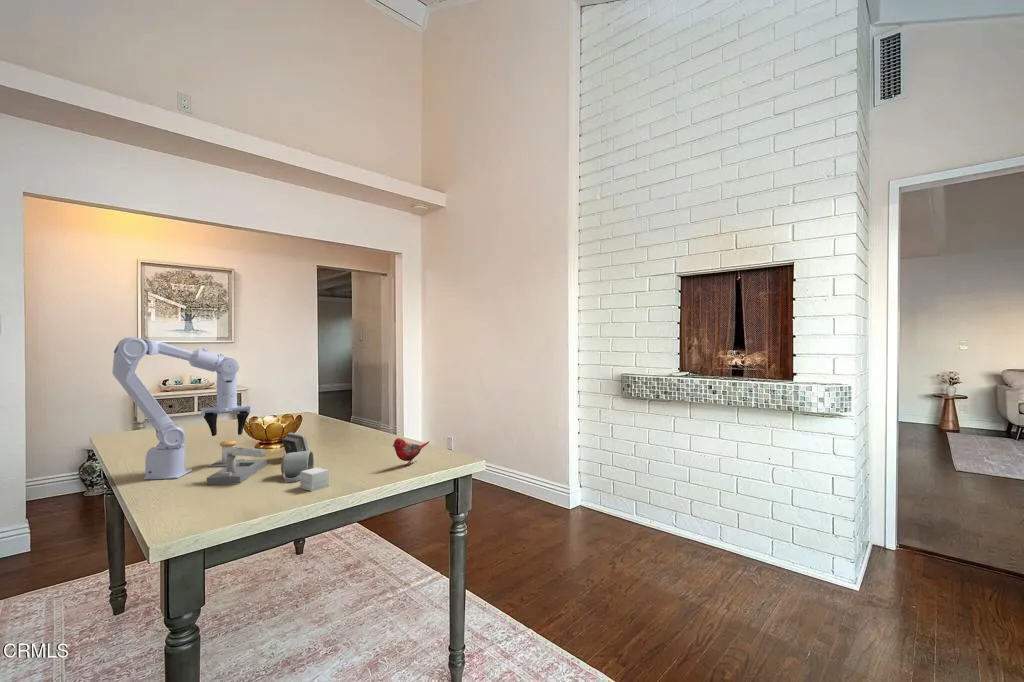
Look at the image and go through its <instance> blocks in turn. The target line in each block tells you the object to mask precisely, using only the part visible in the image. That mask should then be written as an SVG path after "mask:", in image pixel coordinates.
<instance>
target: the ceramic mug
mask: <svg viewBox="0 0 1024 682" xmlns="http://www.w3.org/2000/svg"><path fill="white" fill-rule="evenodd" d="M280 462H281V463H280V470H281V474H282V477H283V480H284V481H285V482H286V483H295V481H296V482H298V481H299V482H300V472H301V471H304V470H309V469H312V468H315V458H314V453H313V451H312V450H310V449H309V451H302V452H292V453H287V454H286V453H285V454H283V455H282V458H281V461H280Z"/></svg>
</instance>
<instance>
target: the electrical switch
mask: <svg viewBox="0 0 1024 682" xmlns="http://www.w3.org/2000/svg"><path fill="white" fill-rule="evenodd" d="M281 441H282V444H283V448H284V451H285V454H287V453H292V452H302V451H309V450H310V448H309V445H308V442H307V438H306V435H304V434H301V433H295V432H288V433H287V435H286V436H285V437H283V438H281Z"/></svg>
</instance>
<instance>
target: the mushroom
mask: <svg viewBox="0 0 1024 682" xmlns="http://www.w3.org/2000/svg"><path fill="white" fill-rule="evenodd" d="M235 445H237V440H224V441H220V442H219V446H220V447H221V460H222V464H227V455H226V448H228V447H235Z"/></svg>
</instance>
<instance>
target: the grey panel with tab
mask: <svg viewBox="0 0 1024 682" xmlns="http://www.w3.org/2000/svg"><path fill="white" fill-rule="evenodd" d="M236 460H237V461H236ZM267 465H268V464H267V459H245V460H238V459H237V456H235V455H231V456H227V467H222V468H221V469H220V470H218V471H217V472H214V473H213V474H211V475H208V476H207V477H206V485H207V484H214V485H233V484H234V483H240V484H242V483H243V482H244V481H246V480H248V479H249V478H250V477H252V476H253V475H254V473H255V472H256V473H257V471H258V470H259V471H260V470H262V469H264V468H265V467H267ZM264 466H265V467H264ZM261 468H262V469H261ZM259 471H258V472H259ZM256 473H255V474H256ZM252 474H253V475H252ZM251 475H252V476H251ZM249 476H250V477H249ZM248 477H249V478H248ZM245 479H246V480H245ZM242 481H243V482H242ZM234 485H235V484H234Z"/></svg>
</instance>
